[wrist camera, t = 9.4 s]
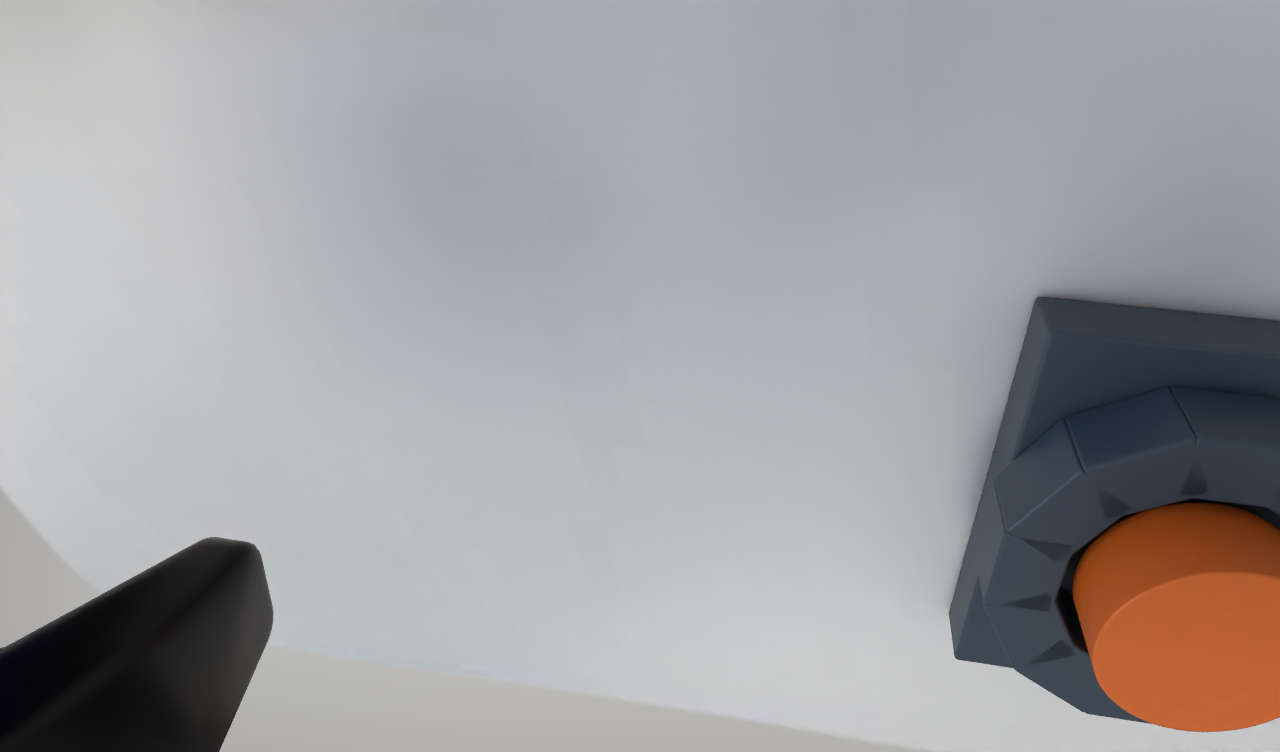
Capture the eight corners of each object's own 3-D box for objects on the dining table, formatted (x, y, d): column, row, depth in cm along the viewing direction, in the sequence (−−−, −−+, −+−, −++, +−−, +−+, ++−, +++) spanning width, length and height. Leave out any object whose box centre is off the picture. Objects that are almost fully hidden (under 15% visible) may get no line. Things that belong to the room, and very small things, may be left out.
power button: (1049, 638, 18) (1067, 713, 17) (1103, 488, 16) (1129, 557, 15) (1254, 668, 18) (1291, 749, 16) (1334, 517, 16) (1384, 591, 14)
